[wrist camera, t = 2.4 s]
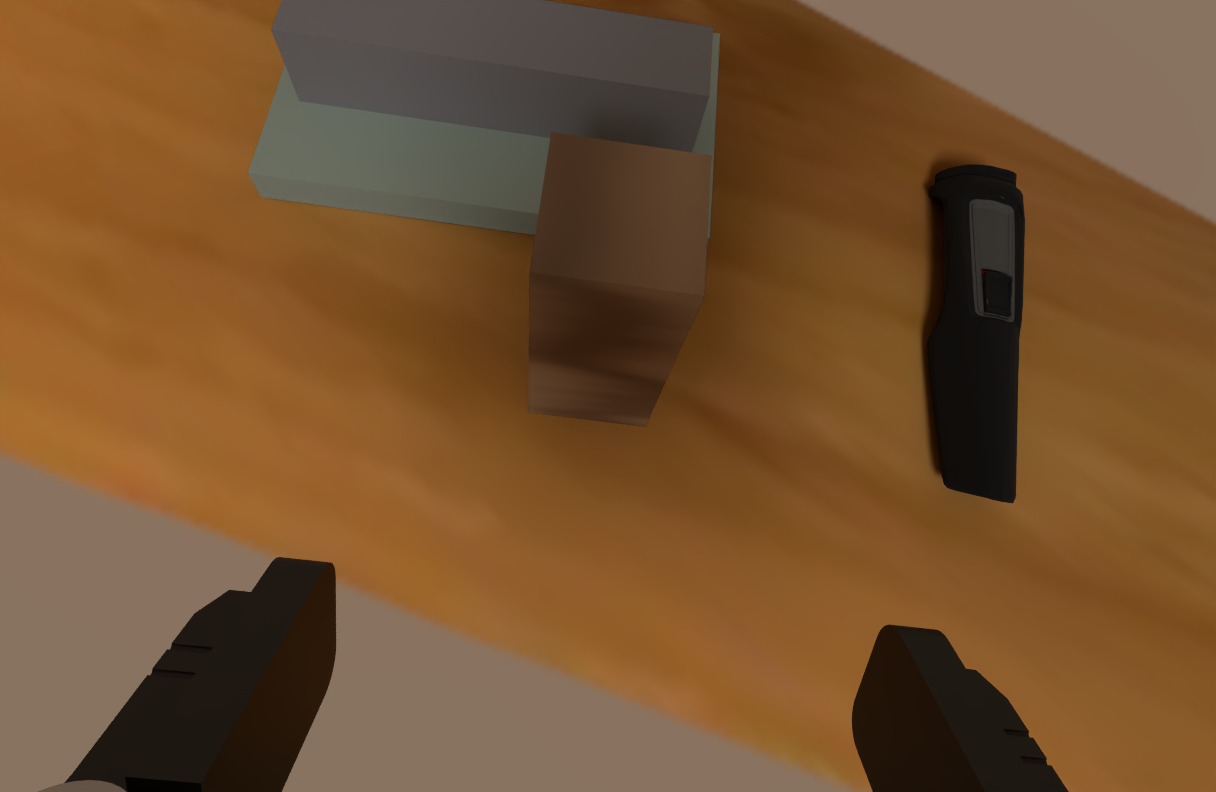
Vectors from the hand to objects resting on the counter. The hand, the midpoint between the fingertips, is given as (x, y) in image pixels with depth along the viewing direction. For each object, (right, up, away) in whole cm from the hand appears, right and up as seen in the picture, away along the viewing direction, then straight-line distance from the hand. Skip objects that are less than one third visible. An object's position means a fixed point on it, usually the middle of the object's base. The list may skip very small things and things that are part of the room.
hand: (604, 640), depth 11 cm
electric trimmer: (+15, +6, +20) cm, 26 cm away
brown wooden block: (0, +5, +18) cm, 18 cm away
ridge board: (-4, +16, +21) cm, 27 cm away
